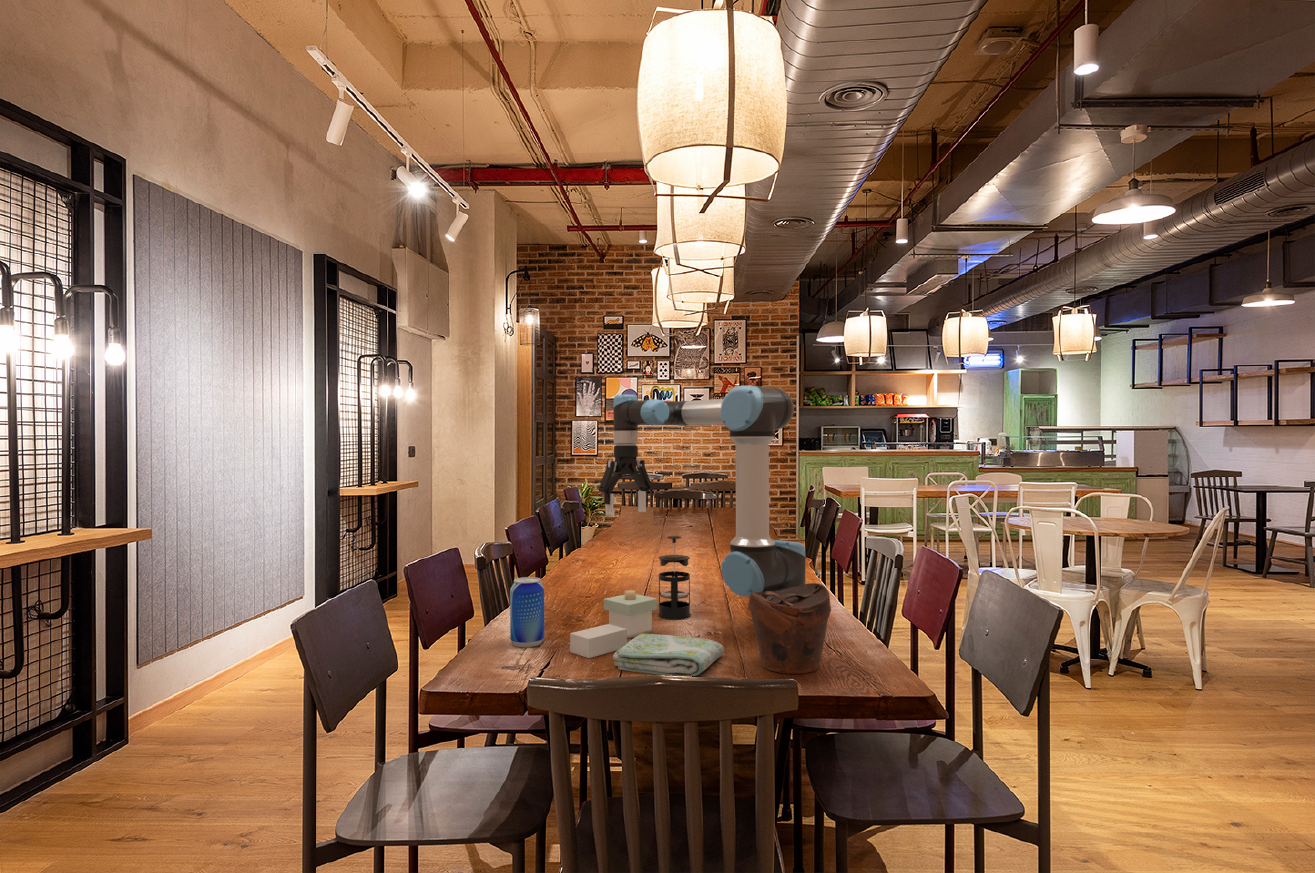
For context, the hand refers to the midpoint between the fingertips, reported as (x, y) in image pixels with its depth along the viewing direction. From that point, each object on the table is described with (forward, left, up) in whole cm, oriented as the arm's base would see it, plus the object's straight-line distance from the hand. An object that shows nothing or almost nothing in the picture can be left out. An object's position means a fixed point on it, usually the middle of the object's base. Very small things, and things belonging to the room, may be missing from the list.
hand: (626, 513), depth 220 cm
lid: (-24, +21, -22) cm, 39 cm away
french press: (-20, 0, -28) cm, 35 cm away
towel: (-49, +32, -29) cm, 65 cm away
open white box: (-24, +21, -28) cm, 42 cm away
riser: (-30, +37, -28) cm, 55 cm away
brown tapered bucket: (-70, +15, -28) cm, 77 cm away
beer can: (-13, +46, -28) cm, 55 cm away
